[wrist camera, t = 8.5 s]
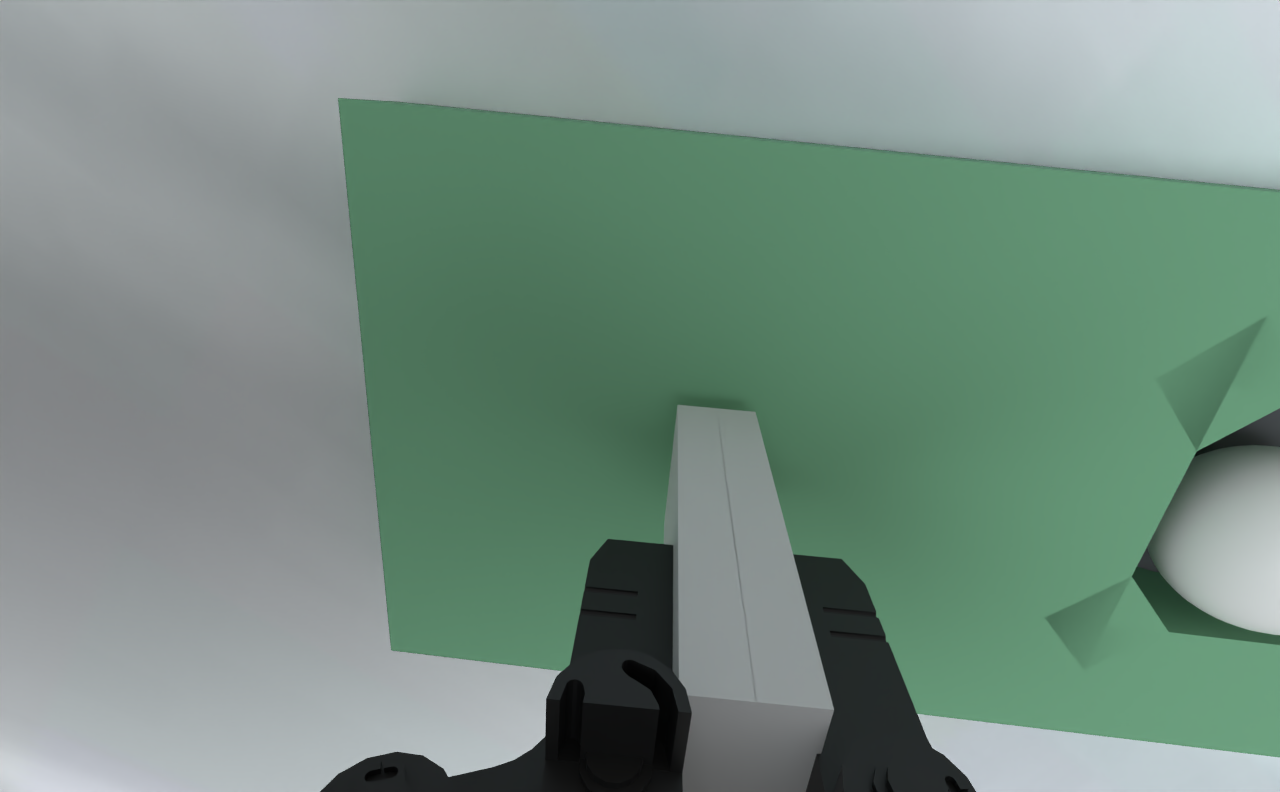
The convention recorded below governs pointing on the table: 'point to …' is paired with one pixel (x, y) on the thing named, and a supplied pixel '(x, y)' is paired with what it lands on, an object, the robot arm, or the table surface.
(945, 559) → the green
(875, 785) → the robot arm
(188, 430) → the table surface
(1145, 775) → the table surface
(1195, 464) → the ball
